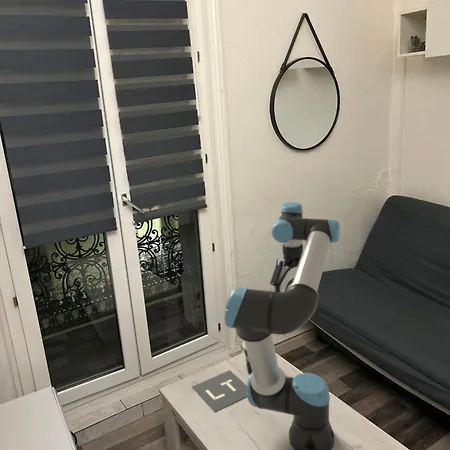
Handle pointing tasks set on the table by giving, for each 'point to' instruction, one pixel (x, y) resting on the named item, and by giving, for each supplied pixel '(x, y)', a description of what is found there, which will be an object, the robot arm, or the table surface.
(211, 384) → the mat
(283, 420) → the table surface
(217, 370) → the table surface
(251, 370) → the coffee cup
